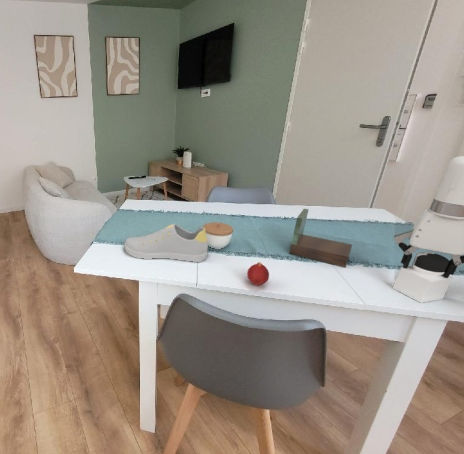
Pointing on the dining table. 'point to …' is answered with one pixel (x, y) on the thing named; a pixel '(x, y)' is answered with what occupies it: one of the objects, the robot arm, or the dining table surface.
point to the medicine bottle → (424, 278)
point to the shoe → (170, 244)
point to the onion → (258, 274)
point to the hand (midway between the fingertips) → (424, 270)
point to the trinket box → (218, 234)
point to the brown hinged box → (318, 246)
